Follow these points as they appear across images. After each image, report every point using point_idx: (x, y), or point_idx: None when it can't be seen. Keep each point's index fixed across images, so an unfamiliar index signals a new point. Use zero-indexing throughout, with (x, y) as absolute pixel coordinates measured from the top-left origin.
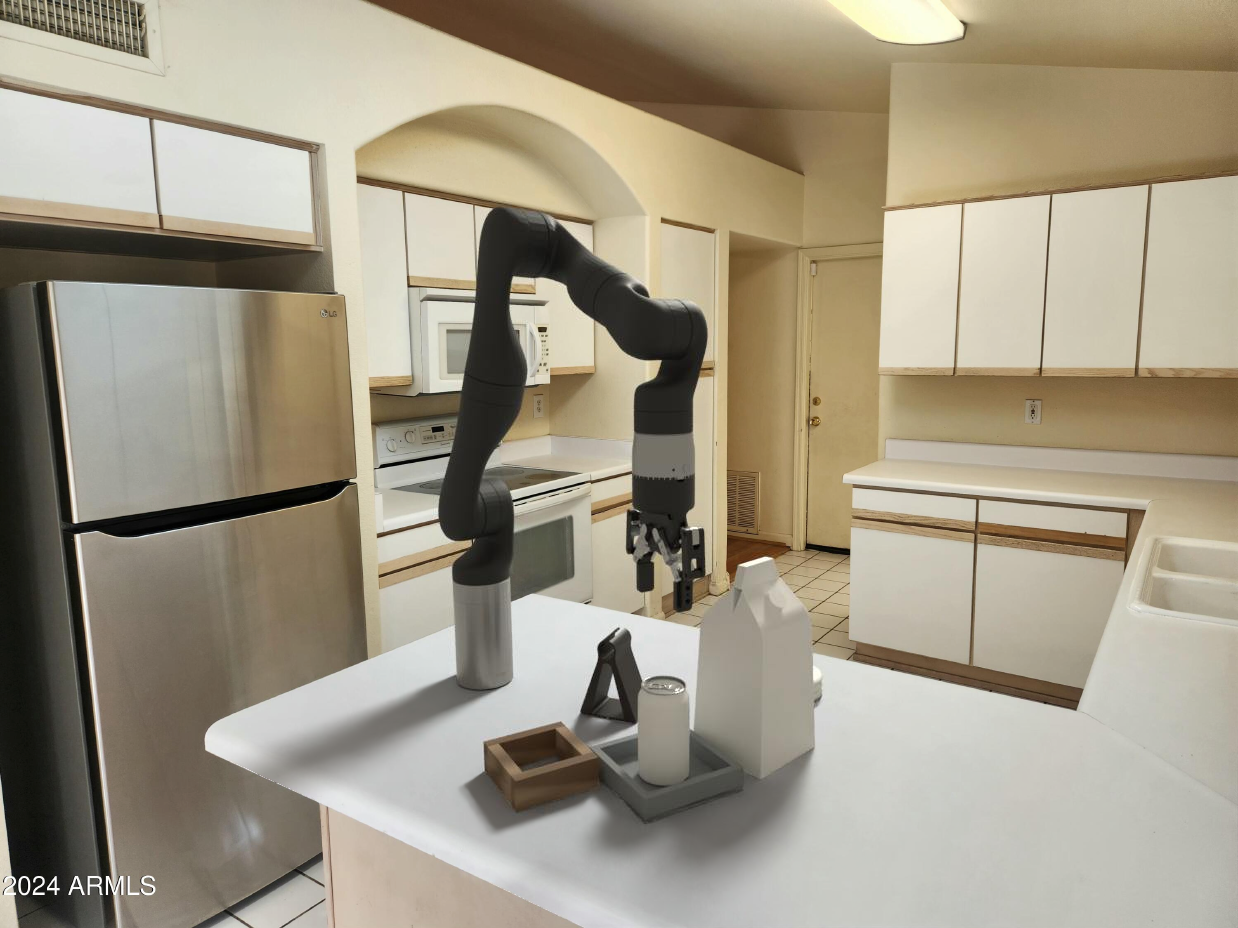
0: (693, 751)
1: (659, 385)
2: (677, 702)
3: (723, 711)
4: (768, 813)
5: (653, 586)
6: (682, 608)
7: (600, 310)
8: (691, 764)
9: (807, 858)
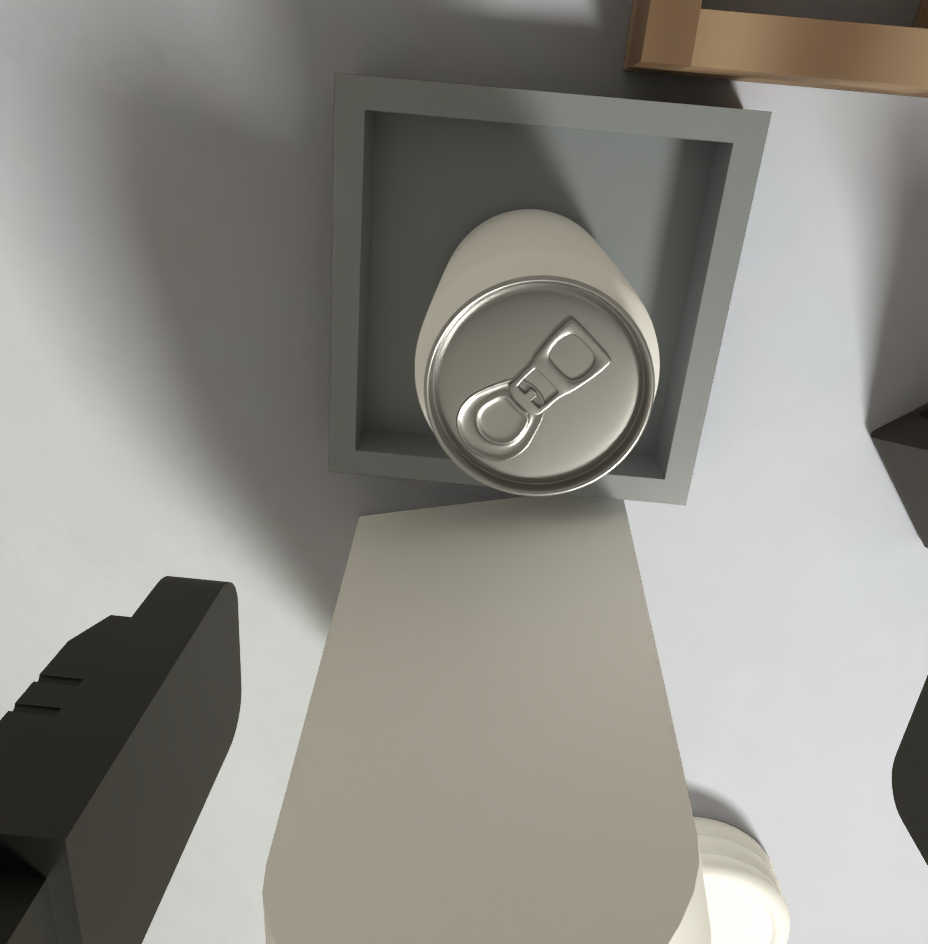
0: None
1: None
2: (417, 370)
3: (502, 588)
4: (215, 420)
5: (906, 816)
6: (108, 624)
7: None
8: None
9: (9, 361)
